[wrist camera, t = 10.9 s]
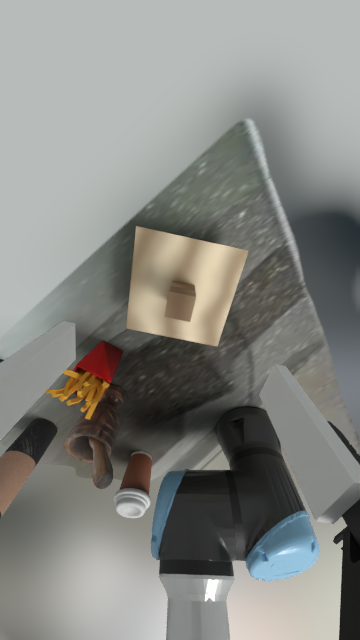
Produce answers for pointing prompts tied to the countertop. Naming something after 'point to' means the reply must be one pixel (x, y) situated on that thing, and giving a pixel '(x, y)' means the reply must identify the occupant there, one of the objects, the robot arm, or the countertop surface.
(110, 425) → the mortar and pestle
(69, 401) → the french fries
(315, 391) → the countertop surface
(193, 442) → the countertop surface
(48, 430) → the travel mug
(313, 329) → the countertop surface
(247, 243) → the countertop surface
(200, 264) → the lid
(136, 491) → the coffee cup
